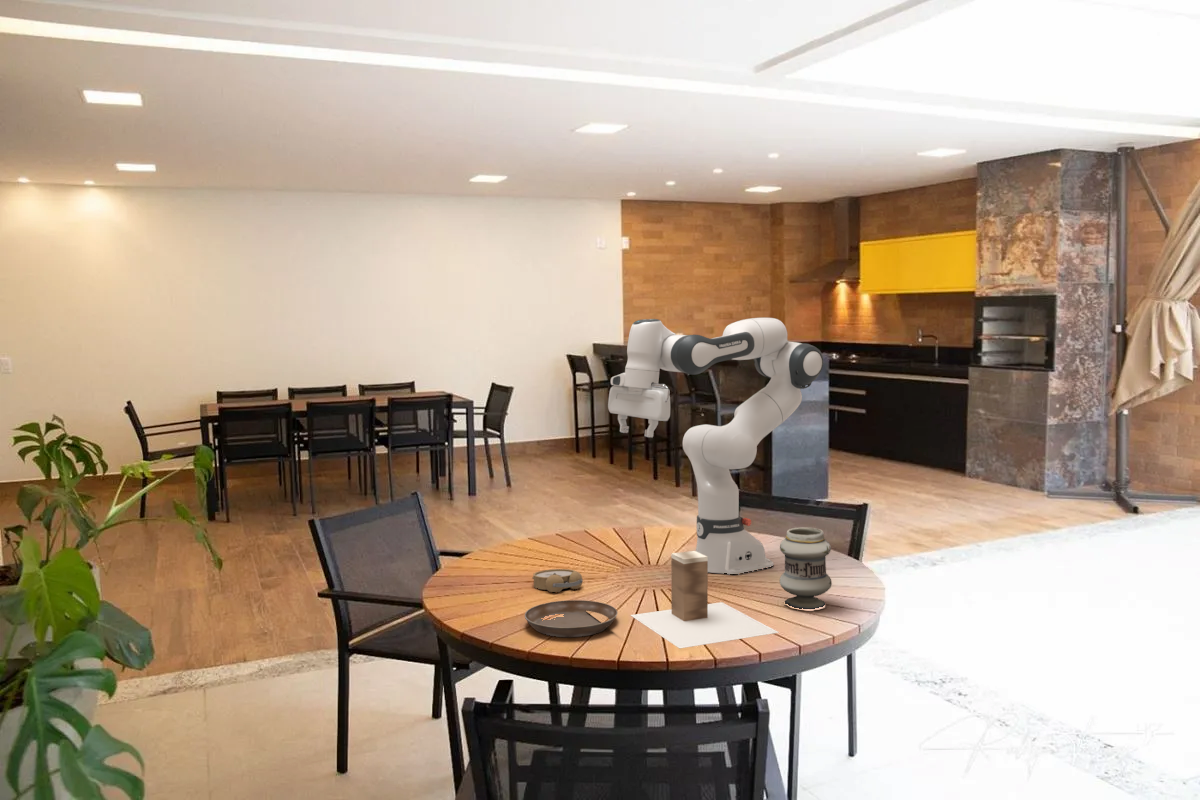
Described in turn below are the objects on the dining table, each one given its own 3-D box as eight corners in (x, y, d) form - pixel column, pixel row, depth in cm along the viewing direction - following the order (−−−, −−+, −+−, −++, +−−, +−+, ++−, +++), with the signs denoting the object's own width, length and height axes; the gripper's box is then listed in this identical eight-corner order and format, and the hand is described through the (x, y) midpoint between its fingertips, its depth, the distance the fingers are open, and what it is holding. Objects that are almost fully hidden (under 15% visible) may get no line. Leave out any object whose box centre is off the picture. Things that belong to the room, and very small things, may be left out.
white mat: (722, 605, 220) (721, 602, 220) (779, 636, 198) (779, 632, 198) (630, 618, 210) (630, 615, 210) (679, 652, 188) (679, 648, 188)
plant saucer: (512, 619, 211) (512, 605, 211) (594, 607, 219) (594, 594, 219) (544, 648, 192) (544, 632, 192) (633, 633, 201) (633, 618, 200)
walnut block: (694, 610, 213) (694, 550, 212) (707, 617, 208) (707, 556, 207) (671, 613, 211) (671, 553, 210) (683, 621, 206) (683, 559, 204)
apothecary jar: (769, 601, 222) (769, 528, 221) (810, 595, 227) (811, 523, 226) (799, 615, 211) (799, 538, 210) (842, 609, 216) (842, 533, 215)
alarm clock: (562, 567, 246) (590, 569, 233) (564, 585, 245) (592, 589, 233) (525, 573, 240) (551, 575, 227) (526, 592, 240) (553, 595, 227)
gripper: (678, 385, 232) (673, 440, 232) (624, 379, 247) (619, 430, 248) (660, 383, 228) (655, 439, 228) (606, 377, 243) (601, 429, 244)
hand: (636, 434), depth 238 cm, fingers open, 8 cm apart
